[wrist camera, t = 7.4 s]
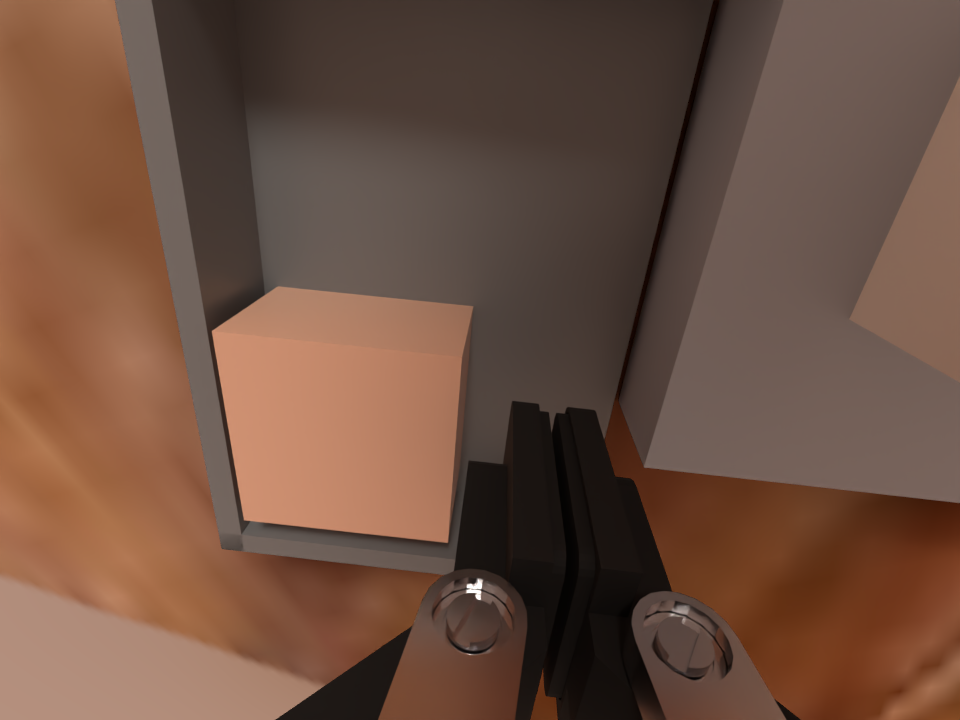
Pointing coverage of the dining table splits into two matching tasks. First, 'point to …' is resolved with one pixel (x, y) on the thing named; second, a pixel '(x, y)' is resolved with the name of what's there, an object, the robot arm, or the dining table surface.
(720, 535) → the dining table surface
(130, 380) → the dining table surface
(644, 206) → the tray
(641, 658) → the robot arm
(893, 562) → the dining table surface
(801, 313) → the slate board
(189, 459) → the dining table surface
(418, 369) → the salmon square block
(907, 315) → the beige square block
